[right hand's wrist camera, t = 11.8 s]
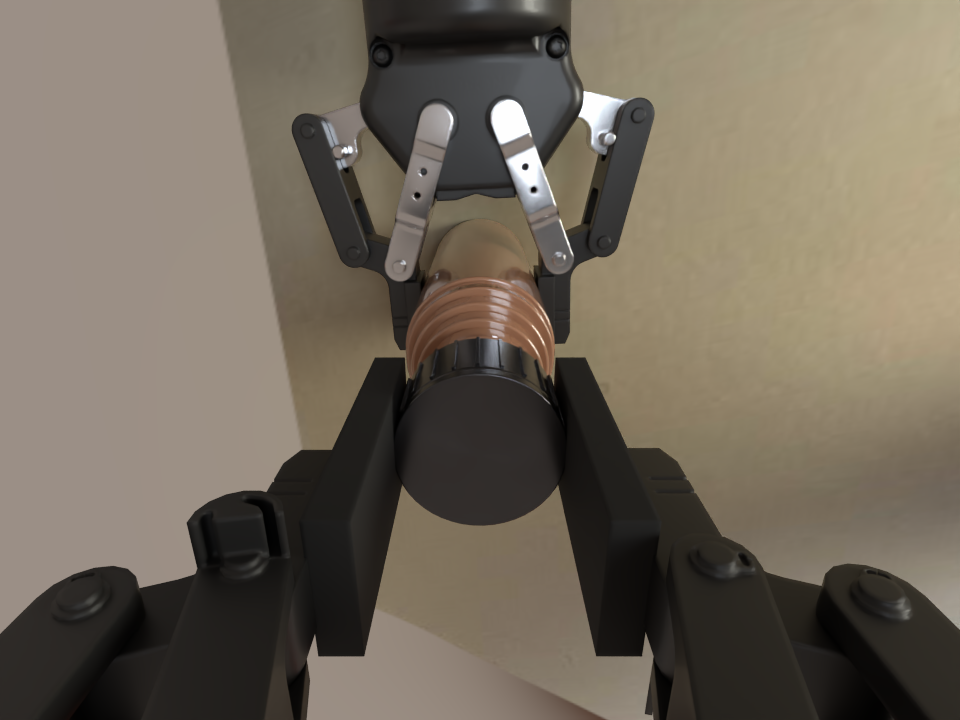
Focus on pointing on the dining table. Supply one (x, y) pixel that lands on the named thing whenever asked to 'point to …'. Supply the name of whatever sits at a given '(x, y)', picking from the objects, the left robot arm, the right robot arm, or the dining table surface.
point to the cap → (480, 433)
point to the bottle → (480, 296)
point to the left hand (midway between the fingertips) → (483, 351)
